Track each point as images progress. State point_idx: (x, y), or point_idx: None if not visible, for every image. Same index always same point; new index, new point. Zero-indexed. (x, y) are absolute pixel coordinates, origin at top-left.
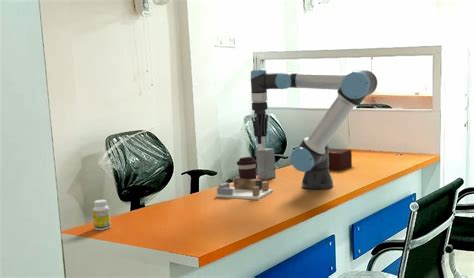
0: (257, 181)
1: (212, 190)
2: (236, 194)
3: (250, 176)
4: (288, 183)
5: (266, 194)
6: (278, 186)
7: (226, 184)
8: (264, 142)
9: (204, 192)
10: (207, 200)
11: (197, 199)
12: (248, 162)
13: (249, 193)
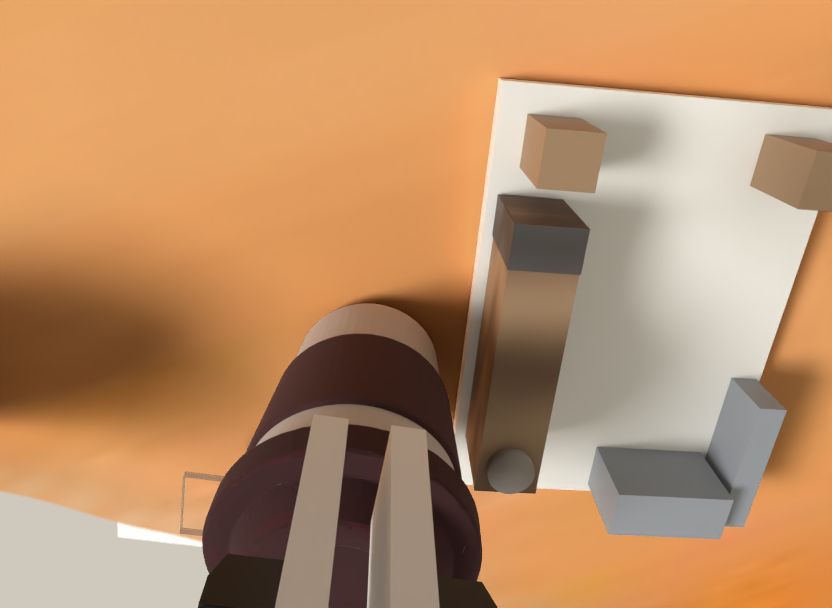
0: (582, 249)
1: (500, 578)
2: (731, 349)
3: (432, 383)
4: (46, 20)
5: (657, 92)
6: (231, 93)
7: (675, 494)
8: (308, 544)
9: (570, 601)
10: (824, 497)
11: (788, 564)
12: (464, 503)
13: (695, 253)
